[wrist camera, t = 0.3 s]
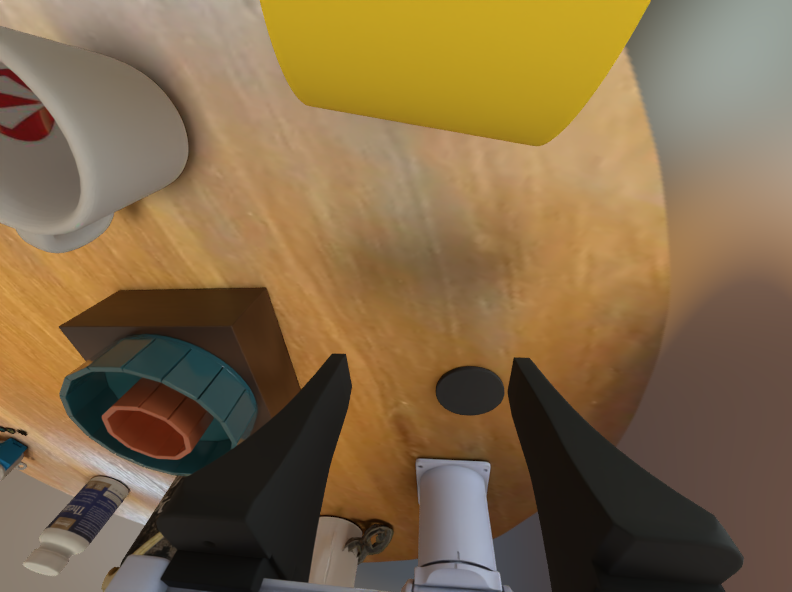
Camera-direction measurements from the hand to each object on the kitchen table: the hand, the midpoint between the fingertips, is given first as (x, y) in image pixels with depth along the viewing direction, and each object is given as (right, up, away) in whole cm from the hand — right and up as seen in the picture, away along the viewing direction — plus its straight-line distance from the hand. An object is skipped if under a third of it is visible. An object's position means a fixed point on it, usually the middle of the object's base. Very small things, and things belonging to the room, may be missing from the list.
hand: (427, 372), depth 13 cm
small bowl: (-18, -4, +10) cm, 21 cm away
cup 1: (-17, +13, +6) cm, 22 cm away
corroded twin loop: (-6, -31, +30) cm, 43 cm away
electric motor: (-51, -16, +27) cm, 60 cm away
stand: (-18, -2, +15) cm, 23 cm away
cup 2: (-10, -30, +31) cm, 44 cm away
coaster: (+5, -5, +15) cm, 16 cm away
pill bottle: (-43, -24, +32) cm, 59 cm away
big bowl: (-18, -4, +11) cm, 21 cm away
